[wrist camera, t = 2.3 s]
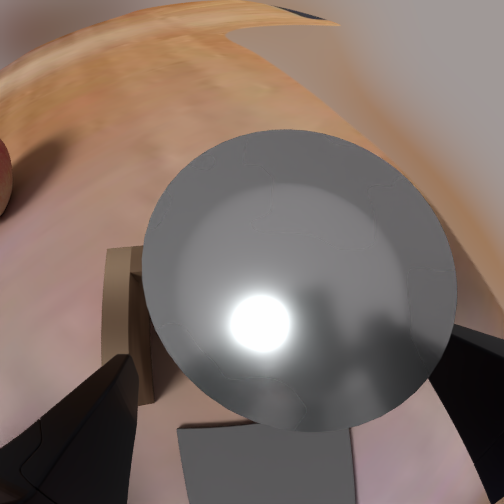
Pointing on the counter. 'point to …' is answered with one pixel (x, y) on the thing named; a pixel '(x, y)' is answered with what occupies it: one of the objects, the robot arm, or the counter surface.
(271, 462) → the rubber mat
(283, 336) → the steel tin
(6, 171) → the apple
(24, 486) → the robot arm
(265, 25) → the counter surface
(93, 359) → the counter surface
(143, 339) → the walnut rack
